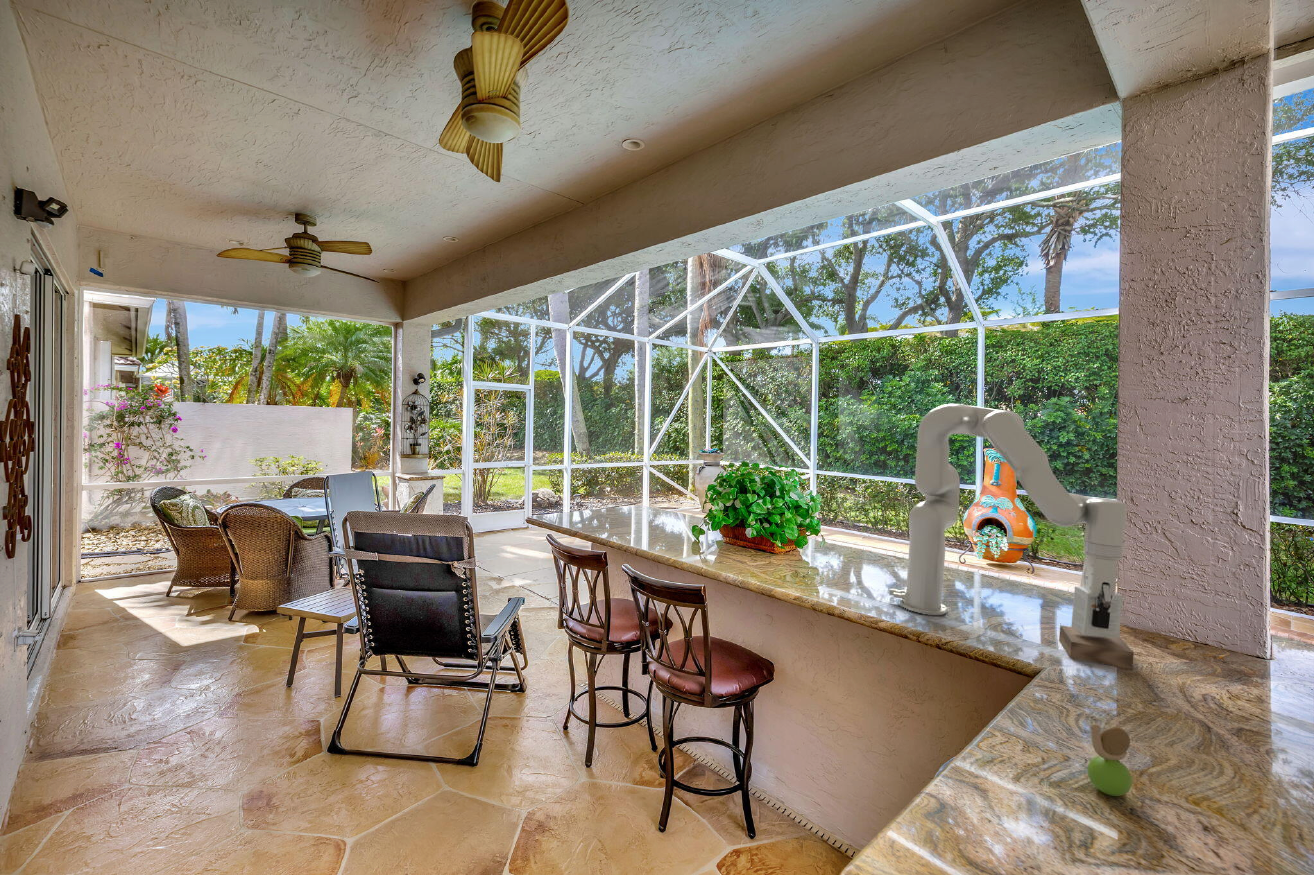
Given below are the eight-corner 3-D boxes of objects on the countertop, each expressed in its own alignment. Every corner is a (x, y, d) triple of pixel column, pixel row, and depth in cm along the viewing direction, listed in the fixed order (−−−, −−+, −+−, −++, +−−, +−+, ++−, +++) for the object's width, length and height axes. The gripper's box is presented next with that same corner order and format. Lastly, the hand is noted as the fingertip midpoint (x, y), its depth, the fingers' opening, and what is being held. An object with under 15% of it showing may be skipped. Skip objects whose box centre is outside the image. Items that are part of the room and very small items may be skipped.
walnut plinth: (1070, 658, 141) (1071, 641, 140) (1058, 640, 152) (1060, 625, 151) (1132, 669, 136) (1133, 652, 136) (1116, 650, 147) (1117, 634, 146)
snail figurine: (1071, 781, 93) (1078, 707, 92) (1109, 780, 93) (1116, 707, 93) (1099, 804, 87) (1107, 726, 87) (1139, 804, 88) (1147, 726, 87)
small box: (1104, 629, 146) (1108, 588, 145) (1119, 638, 140) (1124, 595, 140) (1070, 627, 147) (1074, 585, 146) (1083, 635, 141) (1088, 592, 140)
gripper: (1075, 540, 152) (1068, 608, 153) (1093, 555, 136) (1086, 631, 137) (1110, 544, 149) (1104, 614, 150) (1134, 560, 133) (1126, 638, 134)
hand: (1095, 621), depth 143 cm, fingers closed on small box, 6 cm apart
